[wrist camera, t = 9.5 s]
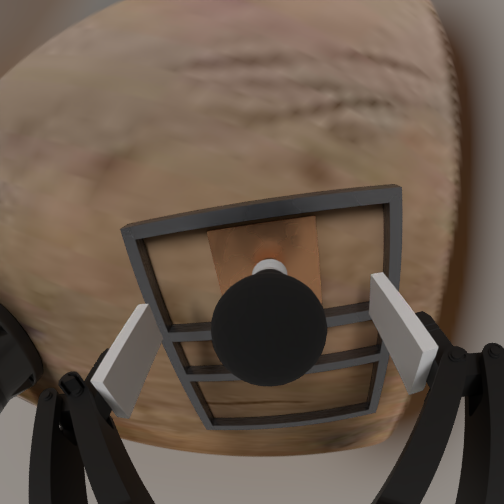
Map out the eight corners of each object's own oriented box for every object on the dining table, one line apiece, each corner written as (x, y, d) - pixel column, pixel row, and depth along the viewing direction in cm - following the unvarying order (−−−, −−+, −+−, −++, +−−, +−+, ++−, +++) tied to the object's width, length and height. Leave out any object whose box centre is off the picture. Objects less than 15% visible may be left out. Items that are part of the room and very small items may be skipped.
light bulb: (315, 294, 21) (340, 397, 12) (242, 309, 22) (225, 413, 12) (301, 222, 19) (329, 301, 10) (219, 241, 20) (178, 329, 10)
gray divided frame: (208, 421, 29) (206, 429, 28) (127, 224, 20) (120, 229, 19) (373, 404, 27) (375, 412, 26) (394, 184, 17) (401, 186, 16)
